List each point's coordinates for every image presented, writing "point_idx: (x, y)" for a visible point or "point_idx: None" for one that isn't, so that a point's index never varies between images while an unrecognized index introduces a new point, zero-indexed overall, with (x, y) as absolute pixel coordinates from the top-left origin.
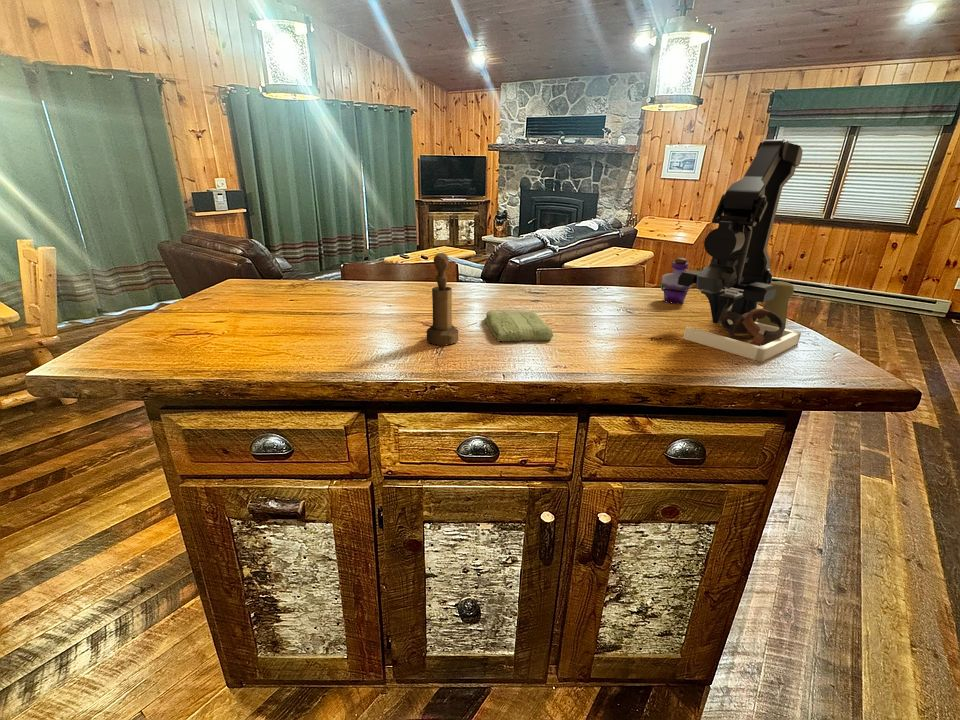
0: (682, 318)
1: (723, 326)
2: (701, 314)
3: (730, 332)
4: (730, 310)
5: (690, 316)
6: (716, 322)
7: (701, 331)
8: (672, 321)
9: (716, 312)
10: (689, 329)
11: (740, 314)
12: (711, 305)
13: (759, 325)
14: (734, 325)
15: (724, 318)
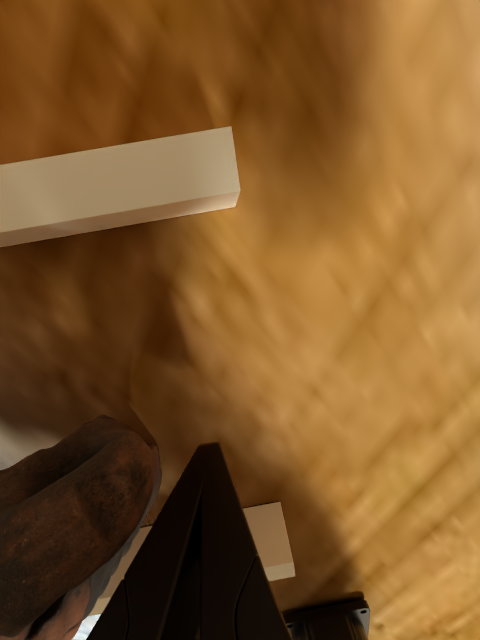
0: (432, 447)
1: (119, 434)
2: (403, 533)
3: (90, 426)
4: (354, 616)
5: (421, 490)
6: (195, 452)
7: (80, 182)
8: (445, 379)
9: (188, 531)
10: (185, 138)
11: (312, 614)
12: (255, 613)
13: (113, 588)
14: (16, 471)
15: (57, 486)
